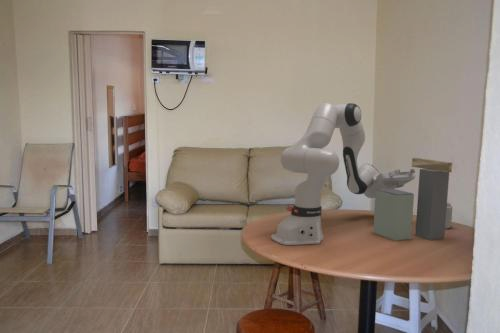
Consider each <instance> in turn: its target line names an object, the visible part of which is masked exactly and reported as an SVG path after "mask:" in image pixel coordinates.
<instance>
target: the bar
mask: <svg viewBox="0 0 500 333" xmlns="http://www.w3.org/2000/svg"><path fill="white" fill-rule="evenodd" d="M411 167H412V168H418V169H430V170H436V171H442V172H449V173H453V171H452V170H453V162H451V161H442V160H435V159H428V158H420V157H419V158H418V157H412V160H411Z"/></svg>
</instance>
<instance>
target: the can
mask: <svg viewBox="0 0 500 333" xmlns="http://www.w3.org/2000/svg"><path fill="white" fill-rule="evenodd" d="M452 214H453V206H452V203H450V202H447V209H446V222H445V230H448V229H450V228H451V227H452V219H453V218H452V217H453V215H452Z"/></svg>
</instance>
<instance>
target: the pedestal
mask: <svg viewBox="0 0 500 333" xmlns="http://www.w3.org/2000/svg"><path fill="white" fill-rule="evenodd" d="M418 177H419V178H418V188H417V189H418V190H417V202H416V203H417V204H416V220H415V236H416V237H419V238H422V239H425V240H429V241H431V240H432V241H433V240H439V239H444V238H445V235H446V234H445V232H446V229H445V222H446V209H447V203H448V193H449V180H450V172H442V171H436V170H430V169H423V168H419V175H418Z"/></svg>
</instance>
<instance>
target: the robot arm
mask: <svg viewBox="0 0 500 333" xmlns="http://www.w3.org/2000/svg"><path fill="white" fill-rule="evenodd" d="M361 120H362V110H361V108H360V106H359V105H357V104H356V103H353V102H352V103H351V102H349V103H337V104H332V103H330V102H325V103H323V102H322V103H321V104H320V105H319V106H318V107H317V109H315V112H314V113H313V115H312V118H311V119H310V122H309V125H308V127H307V128H306V131H305V133H304V134H303V136H302V137H301V138H300V139H299V140H298V141H297V142H296V143H294V144H292V145H290V146H289V147H287V148H285V149H284V150H283V151H282V153H281V154H280V155H281V156H280V164H281V167H282V168H283V170H286V171H289V172H292V173H299V174H307V177H306V180H304V181H302V182H299V184H297V185H296V187H295V190H294V205H293V206H290V205H287V207H286V211H288V212H290V214H289V215H288V216H286V217H285V218H284V219H283V220H282V221H281V222H279V223H278V224H277V228H276V233H274V234H271V235H270V236H271V237H270V238H271V240H272V241H274V242H275V243H278V244H281V245H283V246H297V245H301V246H302V245H312V244H313V245H317V244H321V242H322V241H323V240H324V235H323V231H322V223H321V222H322V221H321V220H322V219H321V218H322V210H323V208H322V204H321V203H322V192H323V188H324V185H325V183H326V181H327V180H328V178H330V177H331V176H332V175H334V174H335V173H336V172H337V170H338V169H339V167H340V158H339V155H338V153H337V152H336V151H334V150H330V149H328V148H325V147H327V146H328V145H329V144H330V142H331V139H332V137H333V134H334V131H335V129H339V132H340V133H339V134H340V136H341V140H342V157H343V163H344V167H345V168H344V169H345V174H346V186H347V188H348V190H349V191H350V192H351V193H352V194H354V195H364V196H365V197H367V198H369V199H375V192H376V189H389V188H392V189H398V188H402V187H405V185H406V184H408V183H410V182H411V181H413V180H415V178H416V174H415V173H416V169H415V168H411V169H410V170H400V169H395V170H392V171H383V172H379V170H378V169H377V167H375V166H374V165H373V164H370V163H363V164H361V165H360V166H359V165H358V157H359V153H360V151H361V150H362V147H363V145H364V143H365V141H366V134H365V130H364V125H363V123H362V121H361Z"/></svg>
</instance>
